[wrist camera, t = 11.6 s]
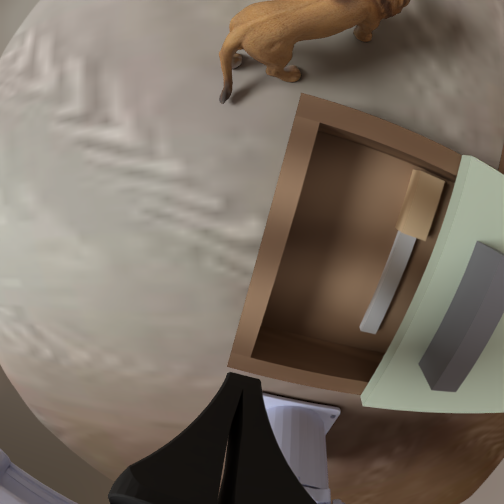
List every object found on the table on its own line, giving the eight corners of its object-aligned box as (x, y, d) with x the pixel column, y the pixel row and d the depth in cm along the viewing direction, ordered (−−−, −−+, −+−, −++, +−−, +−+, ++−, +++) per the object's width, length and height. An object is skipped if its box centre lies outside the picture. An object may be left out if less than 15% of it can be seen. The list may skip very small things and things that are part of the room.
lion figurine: (355, -29, 14) (382, -100, 5) (407, 20, 15) (463, -36, 6) (198, 79, 18) (139, 35, 9) (251, 134, 19) (222, 119, 10)
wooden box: (449, 369, 22) (470, 404, 18) (238, 325, 23) (227, 366, 18) (537, 130, 15) (575, 131, 10) (321, 18, 16) (329, -16, 11)
